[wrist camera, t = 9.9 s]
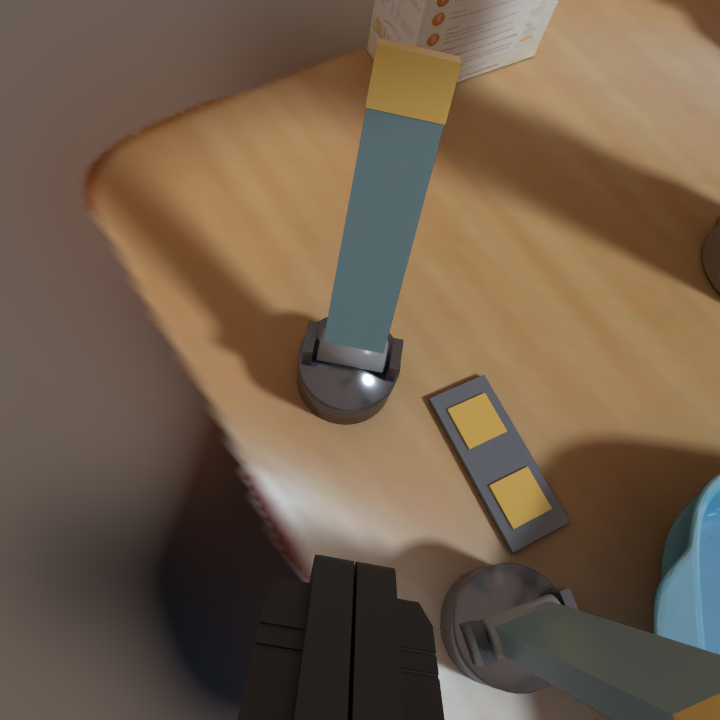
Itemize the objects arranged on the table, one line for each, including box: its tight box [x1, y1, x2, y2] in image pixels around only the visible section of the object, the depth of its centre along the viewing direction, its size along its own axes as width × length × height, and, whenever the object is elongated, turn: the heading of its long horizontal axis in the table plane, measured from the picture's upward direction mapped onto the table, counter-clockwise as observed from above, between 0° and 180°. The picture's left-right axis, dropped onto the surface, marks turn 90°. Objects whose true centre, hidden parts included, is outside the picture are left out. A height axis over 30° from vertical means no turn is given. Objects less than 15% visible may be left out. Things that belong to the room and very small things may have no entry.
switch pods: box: [297, 317, 579, 693], centre depth 35 cm, size 24×6×6 cm, turn 30°
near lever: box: [480, 594, 720, 720], centre depth 23 cm, size 2×4×18 cm, turn 108°
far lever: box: [317, 38, 462, 373], centre depth 31 cm, size 2×4×18 cm, turn 82°
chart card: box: [428, 375, 570, 553], centre depth 39 cm, size 11×4×1 cm, turn 26°
